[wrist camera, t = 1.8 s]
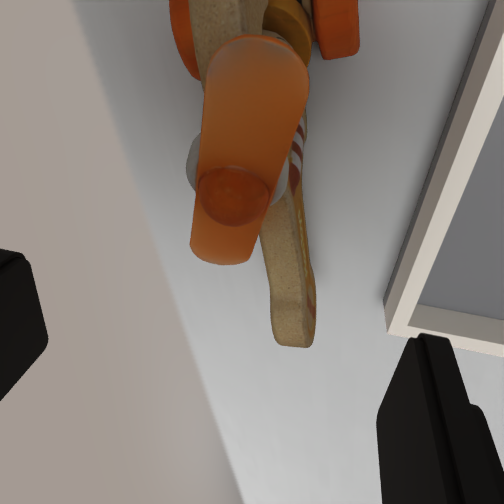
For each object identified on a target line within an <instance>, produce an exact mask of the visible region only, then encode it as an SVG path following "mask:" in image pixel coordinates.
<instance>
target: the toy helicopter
mask: <svg viewBox="0 0 504 504" xmlns="http://www.w3.org/2000/svg"><path fill="white" fill-rule="evenodd" d="M169 8H170V20H171V26H172V31H173V35H174V39H175V42H176V45H177V49H178V51H179V54H180V56H181V58H182V60H183V63H184V65H185V66H186V68H187V69H188V71H189V72H190V74H191V75H192V76H193V77H194V78H196V79H197V80H200V81H201V82H202V87H203V91H204V104H203V116H202V127H201V133H200V134H199V135H198V136H197V137H196V138H195V139H194V141H193V143H192V145H191V148H190V151H189V155H188V158H187V163H186V174H187V178H188V181H189V183H190V184H191V186H192V188H193V189H194V190H195V192H196V198H195V206H194V214H193V223H192V231H191V238H190V247H191V250H192V252H193V253H194V254H195V255H196V256H197V257H198V258H200V259H201V260H203V261H206V262H209V263H213V264H218V265H236V264H240V263H243V262H246V261H247V260H248V259H249V258H250V256H251V254H252V252H253V249H254V245H255V243H256V240H257V237H258V235H259V237H260V242H261V247H262V251H263V256H264V261H265V266H266V271H267V276H268V281H269V286H270V313H271V325H272V331H273V335H274V338H275V340H276V341H277V343H278V344H280V345H282V346H291V347H302V348H308V347H310V346H311V345H312V343H313V340H314V335H315V326H316V286H315V278H314V273H313V270H312V268H311V265H310V259H309V249H308V240H307V231H306V222H305V213H304V204H303V194H302V164H303V146H304V143H305V141H306V137H307V118H306V110H305V105H306V102H307V99H308V94H309V74H308V71H307V67H308V64H309V61H310V57H311V47H312V42H315V41H317V42H318V45H319V48H320V52H321V56H322V58H323V59H324V60H331V59H336V58H342V57H347V56H352V55H354V54H356V53H357V52H358V50H359V47H360V37H359V16H358V0H169Z"/></svg>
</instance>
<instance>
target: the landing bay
mask: <svg viewBox="0 0 504 504" xmlns="http://www.w3.org/2000/svg"><path fill="white" fill-rule="evenodd" d="M383 304H384V312H385V321H386V329H387V334H391V335H396V336H401V337H406V338H410V337H413V338H417V336H418V335H419V334H420V333H426V334H432V335H437V336H442V337H447V338H448V339H449V340H450V342H451V345H452V347H455V348H460V349H465V350H470V351H475V352H480V353H485V354H490V355H495V356H500V357H504V0H490V1H489V4H488V7H487V9H486V12H485V15H484V18H483V21H482V24H481V26H480V29H479V32H478V35H477V38H476V40H475V43H474V46H473V49H472V52H471V54H470V57H469V60H468V63H467V66H466V69H465V71H464V74H463V77H462V80H461V83H460V85H459V88H458V91H457V94H456V97H455V99H454V102H453V105H452V108H451V111H450V113H449V116H448V119H447V122H446V125H445V128H444V130H443V133H442V136H441V139H440V142H439V144H438V147H437V150H436V153H435V156H434V158H433V161H432V164H431V167H430V170H429V172H428V175H427V178H426V181H425V184H424V187H423V189H422V192H421V195H420V198H419V201H418V203H417V206H416V209H415V212H414V215H413V217H412V220H411V223H410V226H409V229H408V232H407V234H406V237H405V240H404V243H403V246H402V248H401V251H400V254H399V257H398V260H397V262H396V265H395V268H394V271H393V274H392V276H391V279H390V282H389V285H388V288H387V291H386V293H385V296H384V299H383Z"/></svg>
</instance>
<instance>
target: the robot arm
mask: <svg viewBox="0 0 504 504" xmlns="http://www.w3.org/2000/svg"><path fill="white" fill-rule="evenodd" d="M47 343H48V334H47V330H46V326H45V322H44V318H43V314H42V309H41V305H40V302H39V297H38V293H37V290H36V285H35V281H34V278H33V273H32V269H31V265H30V263H29V262H28V261H27V260H26V259H25V256H24V255H23V254H22V253H19V252H14V251H9V250H4V249H0V401H1V400H2V399H3V398H4V396H5V395H6V394H7V393H8V392H9V391H10V389H11V388H12V387H13V386H14V385H15V384H16V383H17V381H18V380H19V379H20V378H21V376H23V374H24V373H25V372H26V371H27V370H28V369H29V368H30V366H31V365H32V364H33V363H34V362H35V361H36V359H37V358H38V357H39V356H40V355H41V354H42V352H43V351H44V350H45V348H46V346H47ZM376 428H377V441H378V454H379V467H380V480H381V493H382V504H504V471H503V468H502V465H501V462H500V459H499V456H498V453H497V450H496V447H495V444H494V441H493V438H492V435H491V433H490V430H489V427H488V424H487V421H486V418H485V416H484V414H483V411H482V410H481V409H480V408H479V407H478V406H477V405H473V404H470V402H469V399H468V396H467V392H466V389H465V386H464V383H463V380H462V377H461V373H460V370H459V367H458V364H457V361H456V358H455V354H454V351H453V348H452V345H451V342H450V340H449V339H448V338H447V337H442V336H437V335H432V334H426V333H420V334H419V335H418V336H417V338H413V337H410V338H409V339H408V341H407V344H406V346H405V348H404V351H403V353H402V356H401V358H400V360H399V363H398V365H397V367H396V370H395V372H394V375H393V377H392V379H391V382H390V384H389V386H388V389H387V391H386V394H385V396H384V398H383V401H382V403H381V406H380V408H379V410H378V414H377V421H376Z"/></svg>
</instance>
